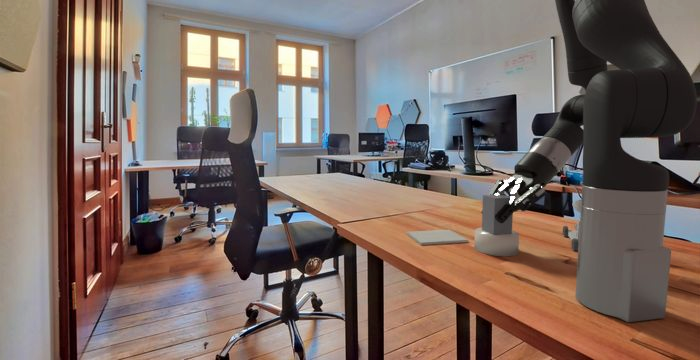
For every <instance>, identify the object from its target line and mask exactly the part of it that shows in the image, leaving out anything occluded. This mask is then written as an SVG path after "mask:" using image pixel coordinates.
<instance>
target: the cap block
mask: <svg viewBox="0 0 700 360" xmlns="http://www.w3.org/2000/svg"><path fill="white" fill-rule="evenodd" d="M509 199H510V197H509V195H507V196H504V195H495V194H494V195H489V194H485V195H482V210H481V212H482V213H481V215H482V216H481V228H482V230H483V231H485V232H487V233H490V234H492V235H505V234H512V230H513V218H514V217H513V215H514V212H513V213H512V215H511V216H509V218H508V219H507V220H506V221H505V222H504V223H499V222H498V221H497V220H496V219H495V215H496V214H497V213H498V212H499V211H500V210H501V209H502V208H503V206H504V205H505V204H506V205H508V204H507V202H508V201H509Z"/></svg>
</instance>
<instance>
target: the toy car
mask: <svg viewBox="0 0 700 360" xmlns="http://www.w3.org/2000/svg"><path fill="white" fill-rule="evenodd" d="M581 200H582V199H577V200H575V201H573V202H572V207H573V208H574V209H575V210H576V211H577V212H578V213H580V214H581ZM579 230H580V220H577V224H574V230H572V229H571V230H570V229H569V226H567V225H563V227H562V236H563V235H564V236H563V238H568V237H569V239H570V240H571V245H570V247H571V250H572V252H577V253H578V245H579Z"/></svg>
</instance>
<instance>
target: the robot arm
mask: <svg viewBox="0 0 700 360" xmlns="http://www.w3.org/2000/svg"><path fill="white" fill-rule="evenodd" d="M554 2H555V8H556V11H557V15H558V21H559V25H560V29H561V32H562V36H563V42H564V47H565V48H564V49H565V54H566V56H565V57H566V66H567V77H568V81H569V83H570V85H574V86H578V87H582V88H584V90H585V92H584V93H585V94H579V95H575V96H573V97H571V98H569V99H568V100H567V101H566V102H565V103H564V104H563V106H562V107H561V109H560V111H559V113H558V115H557V116H556V119H555V122H554V123H553V126H552V127H551V128H550V129H549V130H548V131H547V132H546V133H545V134H544V135H543V136H542V137H541V139H539V140H538V141H537V142H536V143H535V144H534V145H532V147H531V148H530V149H528V151H527V152H526V153H525V154H524V155H523V156H522V157H521V159H519V161H518V162H517V163H516V164H515V165H514V167H513V169H514V174H513V175H511V176H510V177H508V179H506V180H503V178H502V177H501V178H498V179H497V181H496V183H495V184H494V186H493V187H492V189H491V190H490V191H489V193H488V195H504V196H509V197H510V199H509V201H508V202H507V204H508V205H506V204H505V205H504V206H503V208H502V209H501V210H500V211H499V212H498V213H497V214H496V215H495V219H496V220H497V221H498V222H499V223H504V222H505V221H506V220H507V219H508V218H509V216H511V215H512V213H513V214H514V213H516V212H518V211H521V212H526V211H527V210H528V209H529V208H531V207H532V206H533V205H535V204H536V203H537V202H538V201H540V200H541V199H542V198H544V197H545V196H546V195H547V192H546V190H545V189H544V188H545V187H546V186H547V185H548V184H549V183H550V182H551V181H552V179H554V177H555V176H556V175H557V174H558V173H559V172H560V171H561V170H562V168H563V167H564V166H566V164H567V162H568V161H569V159H570V158H571V157H572V156H573V155H574V153H576V151H578V149H579V148H580V147H581V146H583V148H582V175H583V176H582V185H581V188H582V189H581V199H580V200H581V213H580V217H579V221H580V230H579V245H578V252H577V261H576V262H577V263H576V265H577V266H576V279H575V295H574V296H575V299H576V300H577V301H578V302H579V303H580V304H582V305H583V306H584V307H587V308H589V309H591V310H593V311H595V312H598V313H601V314H604V315H607V316H610V317H614V318H618V319H620V320H622V321H624V322H626V323H633V322H640V321H647V320H648V321H649V320H656V319H665V318H666V311H667V309H666V308H667V300H668V292H669V291H668V289H669V282H670V281H669V279H670V272H671V271H670V268H671V259H672V249H671V248H669V247H667V246H664V239H665V238H664V237H665V226H666V225H665V224H666V213H667V204H668V194H669V193H668V192H669V185H670V184H669V183H670V173H669V170H668V169H667V168H665V167H664V166H662V165H658V164H655V163H651V162H648V161H644V160H641V159H639V158H636V157H635V156H633V155H631V154H629V153H628V152H627V151H625V150H624V148H623V147H622V141H621V139H645V138H646V139H647V138H648V139H649V138H663V137H670V136H675V135H678V134H680V133H682V132H683V131H685V130H686V129H687V128H688V127H689V126H690V124H691V123H692V121H694V118H695V115H696V112H697V106H698V105H697V104H698V97H697V96H698V95H697V89H696V86H695V83H694V80H693V78H692V75H691V74H690V72H689V70H688V68H687V67H686V66H685V65H684V63H683V62H682V61H681V59H680V58H679V57H678V55H677V54H676V53H675V51H674V50H673V49H672V48H671V47H670V45H669V44H668V42H667V41H666V40H665V39H664V37H663V35H662V34H661V32H660V30H659V29H658V27H657V26H656V24H655V22H654V19H653V18H652V15H651V14H650V12H649V9H648V6H647V4H646V1H645V0H554ZM608 63H609V64H611V65H613V66H614V67H616V68H618V69H611V70H608ZM581 126H582V127H583V128H582V127H581ZM481 214H482V211H481Z"/></svg>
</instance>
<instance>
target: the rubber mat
mask: <svg viewBox="0 0 700 360" xmlns="http://www.w3.org/2000/svg"><path fill="white" fill-rule="evenodd" d="M405 234H406V236H408V237H410V238H411V239H412V240H413V241H415V242H416V243H417V244H418V245H420V246H429V245H443V244H444V245H445V244H458V243H459V244H460V243H469V239H467V238H466V237H464V236H462V235H460V234H458V233H456V232H455V231H452V230H450V229H449V228H448V229H434V230H432V229H431V230H417V231H415V230H414V231H412V230H411V231H406V233H405Z"/></svg>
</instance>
